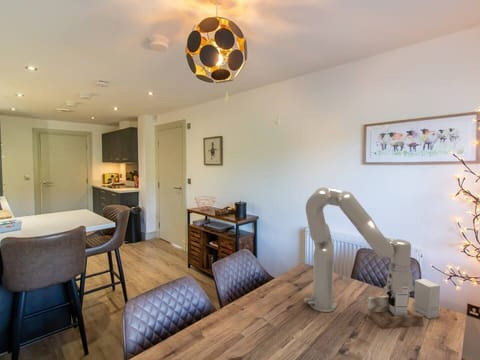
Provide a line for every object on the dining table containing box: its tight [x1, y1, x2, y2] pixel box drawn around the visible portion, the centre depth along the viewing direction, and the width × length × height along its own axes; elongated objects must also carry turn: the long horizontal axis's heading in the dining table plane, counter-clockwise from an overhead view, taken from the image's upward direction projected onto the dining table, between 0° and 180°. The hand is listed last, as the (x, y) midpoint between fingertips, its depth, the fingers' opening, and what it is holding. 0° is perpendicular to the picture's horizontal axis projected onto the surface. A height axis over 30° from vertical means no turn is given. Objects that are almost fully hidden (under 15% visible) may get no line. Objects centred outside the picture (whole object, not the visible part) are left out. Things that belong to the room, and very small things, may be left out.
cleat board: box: [367, 294, 424, 330], centre depth 123 cm, size 20×11×9 cm, turn 98°
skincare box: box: [413, 278, 441, 319], centre depth 128 cm, size 8×7×16 cm
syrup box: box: [389, 286, 409, 316], centre depth 123 cm, size 6×6×14 cm
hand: (398, 303), depth 123 cm, fingers closed on syrup box, 6 cm apart
